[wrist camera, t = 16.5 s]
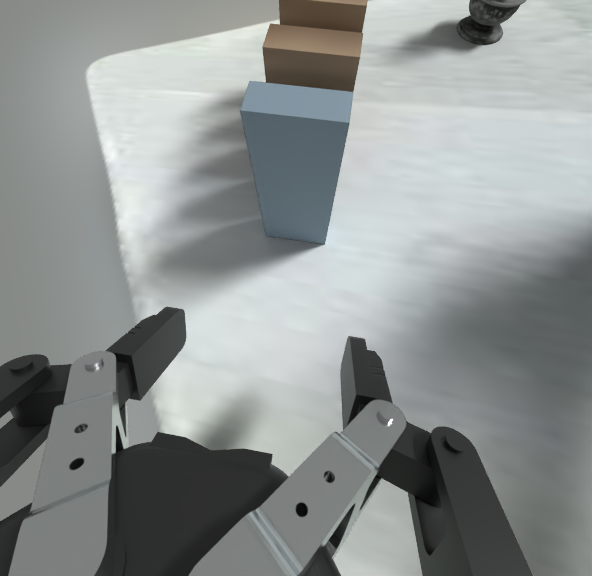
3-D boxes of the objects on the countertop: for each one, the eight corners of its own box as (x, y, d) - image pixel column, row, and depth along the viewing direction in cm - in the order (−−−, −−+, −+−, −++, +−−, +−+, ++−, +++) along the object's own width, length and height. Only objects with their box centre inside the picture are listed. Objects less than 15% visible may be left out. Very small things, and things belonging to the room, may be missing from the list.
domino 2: (332, 199, 24) (359, 57, 13) (277, 191, 24) (262, 46, 14) (334, 181, 24) (363, 32, 14) (281, 174, 25) (270, 23, 14)
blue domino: (324, 244, 22) (349, 122, 12) (266, 235, 23) (240, 110, 12) (327, 223, 23) (353, 92, 13) (270, 215, 23) (249, 80, 13)
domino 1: (337, 160, 25) (366, 5, 15) (285, 153, 26) (278, -3, 15) (340, 144, 26) (369, -15, 16) (289, 138, 26) (285, -22, 16)
